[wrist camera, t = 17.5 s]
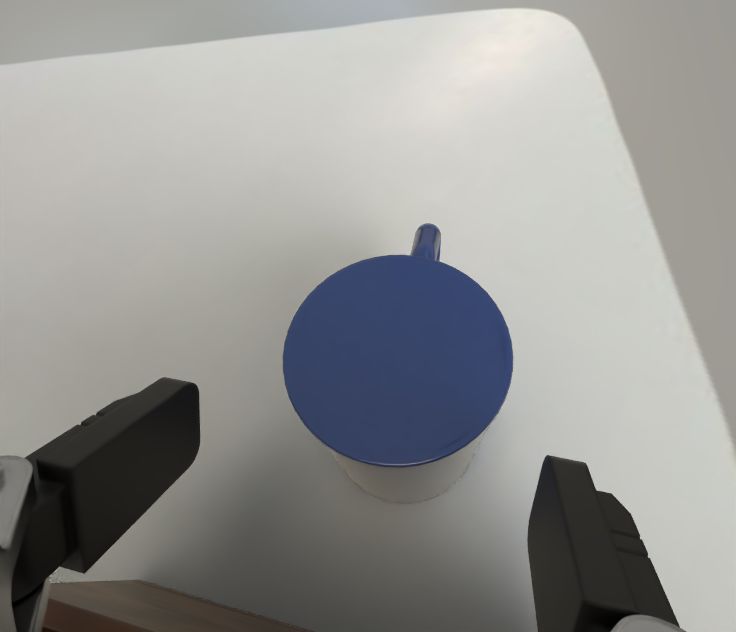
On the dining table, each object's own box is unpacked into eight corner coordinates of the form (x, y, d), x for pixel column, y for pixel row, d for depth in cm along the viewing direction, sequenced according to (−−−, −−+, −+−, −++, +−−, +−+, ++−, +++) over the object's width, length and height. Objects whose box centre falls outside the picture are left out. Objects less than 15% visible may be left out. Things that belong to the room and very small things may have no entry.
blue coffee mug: (468, 523, 18) (500, 494, 11) (313, 485, 19) (250, 437, 12) (494, 320, 22) (530, 201, 15) (363, 299, 23) (339, 180, 16)
